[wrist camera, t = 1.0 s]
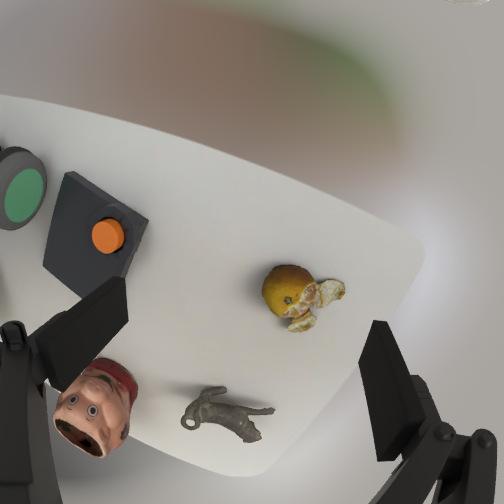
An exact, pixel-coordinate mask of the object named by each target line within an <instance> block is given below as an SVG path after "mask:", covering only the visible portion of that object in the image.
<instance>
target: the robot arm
mask: <svg viewBox="0 0 504 504" xmlns="http://www.w3.org/2000/svg"><path fill="white" fill-rule="evenodd" d="M128 321H129V320H128V310H127V298H126V285H125V278H122V277H118V276H112V277H111V278H110V279H108V280H107V281H106V282H104V283H103V284H102V285H100V286H99V287H98V288H96V289H95V290H94V291H92V292H91V293H90V294H88V295H87V296H86V297H85V298H83V299H82V300H81V301H79V302H78V303H77V304H76V305H74V306H73V307H72V308H70V309H69V310H68V311H63V312H61V313H58V314H56V315H55V316H53V317H52V318H51V319H50V320H49V321H47V322H46V323H44V325H42V326H41V327H39V328H38V329H37V330H36V331H35V332H33V333H32V334H31V335H30V336H27V333H26V330H25V326H24V324H23V323H22V322H20V321H9V322H7V323H5V324H3V325H2V326H1V327H0V335H1V338H2V341H3V342H0V504H63V503H62V499H61V495H60V490H59V486H58V482H57V477H56V472H55V467H54V462H53V456H52V449H51V442H50V435H49V426H48V417H47V405H46V387H45V385H44V381H45V380H46V379H47V378H48V379H49V382H50V384H51V387H53V388H55V389H56V390H58V391H60V392H62V393H64V392H65V391H66V390H67V389H68V388H69V386H70V385H71V384H72V383H73V382H74V381H75V380H76V378H77V377H78V376H79V375H80V374H81V373H82V372H83V370H84V369H85V368H86V367H87V366H88V365H89V364H90V363H91V362H92V360H93V359H94V358H95V357H96V356H97V355H98V354H99V353H100V352H101V350H102V349H103V348H104V347H105V346H106V345H107V344H108V343H109V342H110V341H111V339H112V338H113V337H114V336H115V335H116V334H117V333H118V332H119V331H120V330H121V329H122V328H123V326H124V325H125V324H126V323H127V322H128ZM358 364H359V368H360V372H361V377H362V381H363V386H364V390H365V395H366V400H367V405H368V410H369V415H370V421H371V426H372V431H373V437H374V443H375V449H376V455H377V461H378V462H380V461H394V460H395V459H396V458H397V457H398V456H399V455H400V453H401V454H402V459H403V460H402V462H401V463H400V464H399V465H398V466H397V468H396V469H395V470H394V471H393V472H392V475H391V477H390V478H389V479H388V480H387V482H386V483H385V484H384V486H383V487H382V488H381V489H380V491H379V492H378V493H377V494H376V496H375V497H374V498H373V499H372V500H371V502H370V503H369V504H423V502H424V501H425V499H426V497H427V496H428V494H429V492H430V491H431V489H432V487H433V485H434V484H435V482H436V480H437V485H436V489H435V492H434V496H433V500H432V503H431V504H493V503H494V494H495V482H496V467H497V441H496V438H495V436H494V434H492V433H491V432H490V431H488V430H486V429H478V430H476V431H475V432H474V433H473V434H472V436H471V437H470V436H464V435H458V434H456V431H455V430H454V428H453V427H452V426H451V425H449V424H448V423H446V422H442V421H441V418H440V416H439V413H438V411H437V409H436V406H435V404H434V401H433V399H432V396H431V394H430V393H429V389H428V387H427V385H426V383H425V382H424V380H423V379H422V378H421V377H420V376H419V375H410V373H409V371H408V368H407V366H406V364H405V361H404V359H403V357H402V354H401V352H400V349H399V347H398V345H397V343H396V340H395V338H394V336H393V334H392V331H391V329H390V327H389V325H388V323H387V321H378V320H373V323H372V326H371V329H370V332H369V334H368V337H367V340H366V343H365V346H364V348H363V351H362V354H361V356H360V359H359V362H358Z"/></svg>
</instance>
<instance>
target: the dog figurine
mask: <svg viewBox="0 0 504 504" xmlns="http://www.w3.org/2000/svg"><path fill="white" fill-rule="evenodd" d="M226 392H227V389H226V388H225V387H220V388H212V389H203V390H202V391H201V394H200V396H199V398H198V399H196V400H195V401H193V402H192V403H191V404H190V405H189V406H188V407H187V408H186V410H185V414H184V415H183V416H182V418H181V425H182V426H183V427H184V428H186V429H188V430H195V429H197V428H199V426H200V423H205V422H208V423H216V424H220V425H222V426H224V427H226V428H227V429H229V430H231V431H233V432H235V433H236V434H237V435H238V436H239V437H240V438H242V439H243V442H245V443H246V442H247V443H252V442H255V441H258V440H260V439H262V437H261V436H260V434H261V433H260V432H259V430H257V429H256V428H255V426H254V422H252V421H250V420H249V418H248V415H268V414H273V413H274V411H275V409H274V408H268V409H267V408H264V409H260V410H257V409H252V408H248V407H244V406H239V405H236V406H231V405H227V404H223V403H216V402H211V401H210V400H209V397H210V396H212V395H218V394H224V393H226ZM187 419H191V420H193V421H195V425H194V426H188V425H187V424H186V420H187Z"/></svg>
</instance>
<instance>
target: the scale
mask: <svg viewBox="0 0 504 504" xmlns="http://www.w3.org/2000/svg"><path fill="white" fill-rule="evenodd" d="M106 219H113V220H116V221H117V222H118V223H119V224H120V225H121V227H122V228H123V231H124V242H123V244H122V246H121V247H120V248H118V249H117V250H115V251H113V252H112V253H108V254H106V253H102V252H101V251H99V250H98V249H97V248H96V246H95V245H94V243H93V239H92V231H93V228H94V226H95V225H96V224H97V223H99V222H101V221H103V220H106ZM148 221H149V220H147V219H146V218H144V217H143V216H141V215H140V214H138V213H137V212H135V211H133V210H132V209H130V208H129V207H127V206H126V205H124V204H123V203H121V202H120V201H118V200H117V199H115V198H114V197H112V196H111V195H109V194H107V193H106V192H104V191H103V190H101V189H100V188H98V187H97V186H95V185H94V184H92V183H91V182H89V181H88V180H86V179H85V178H83V177H82V176H80V175H79V174H77V173H76V172H74V171H72V172H67V173H65V174H64V178H63V181H62V184H61V187H60V191H59V194H58V198H57V202H56V205H55V209H54V213H53V217H52V221H51V226H50V230H49V235H48V239H47V244H46V250H45V255H44V260H43V267H45V268H46V269H47V270H48V271H49V272H50V273H51V274H53V275H54V276H55V277H56V278H57V279H59V280H60V281H61V282H62V283H63V284H65V285H66V286H67V287H68V288H69V289H71V290H72V291H73V292H74V293H76V294H77V295H78V296H79V297H81V298H82V299H83V298H85V297H86V296H87V295H88V294H90V293H91V292H92V291H94V290H95V289H96V288H98V287H99V286H100V285H102V284H103V283H104V282H106V281H107V280H108V279H110V278H111V277H112V276H118V277H122V278H125V277H126V274H127V272H128V269H129V267H130V264H131V261H132V259H133V257H134V254H135V253H136V251H137V249H138V246H139V244H140V242H141V237H142V235H143V233H144V230H145V228H146V226H147V223H148Z"/></svg>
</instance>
